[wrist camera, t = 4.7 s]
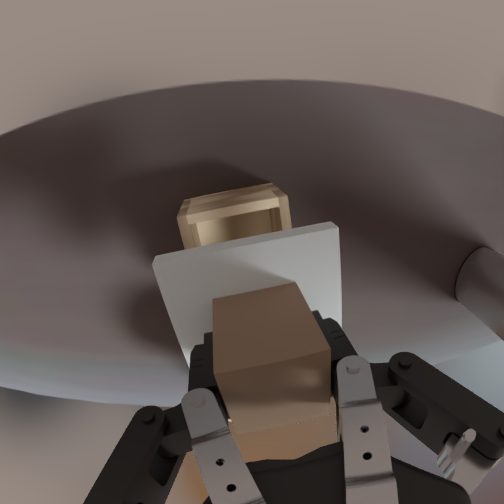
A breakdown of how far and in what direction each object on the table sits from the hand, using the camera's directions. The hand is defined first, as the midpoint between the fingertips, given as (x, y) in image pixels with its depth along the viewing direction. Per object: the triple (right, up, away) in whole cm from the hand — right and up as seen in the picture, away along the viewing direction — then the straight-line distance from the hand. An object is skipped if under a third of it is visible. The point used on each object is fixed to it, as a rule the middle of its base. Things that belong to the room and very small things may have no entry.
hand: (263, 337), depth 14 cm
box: (-2, +6, +14) cm, 16 cm away
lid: (0, +1, +2) cm, 2 cm away
